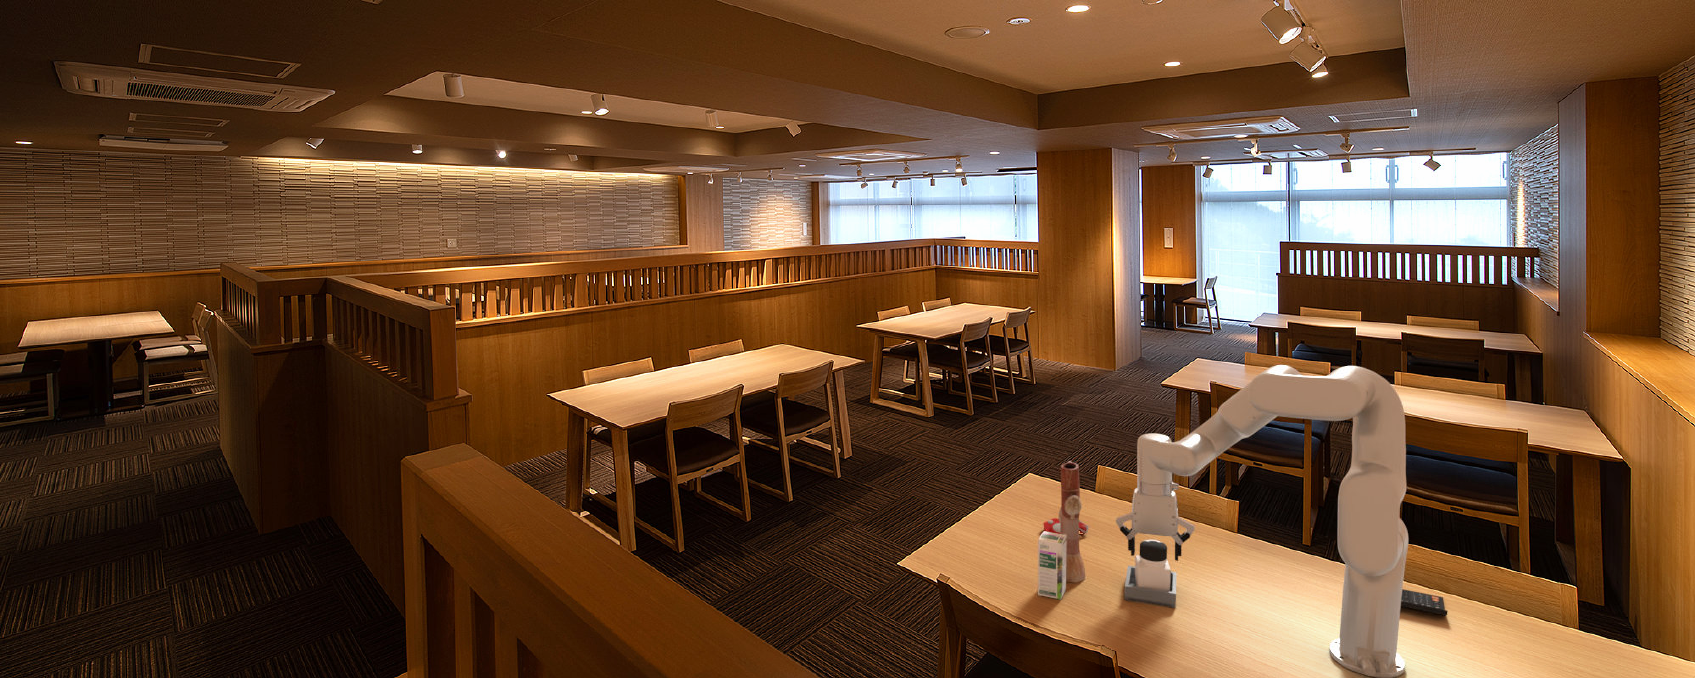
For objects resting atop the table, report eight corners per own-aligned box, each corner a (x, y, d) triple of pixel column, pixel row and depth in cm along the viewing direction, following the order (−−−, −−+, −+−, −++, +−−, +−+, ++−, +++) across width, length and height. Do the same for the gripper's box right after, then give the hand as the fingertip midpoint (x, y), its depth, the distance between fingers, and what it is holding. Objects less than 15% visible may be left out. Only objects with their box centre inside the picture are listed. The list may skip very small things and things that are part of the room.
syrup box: (1037, 595, 184) (1037, 539, 182) (1043, 584, 189) (1043, 529, 187) (1061, 600, 182) (1061, 543, 179) (1066, 589, 187) (1067, 533, 184)
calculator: (1442, 600, 175) (1443, 588, 175) (1446, 624, 166) (1447, 611, 166) (1392, 590, 181) (1393, 578, 180) (1393, 612, 171) (1394, 600, 171)
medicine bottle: (1170, 598, 179) (1172, 550, 177) (1138, 596, 181) (1139, 548, 179) (1165, 584, 186) (1167, 537, 184) (1134, 581, 187) (1135, 535, 185)
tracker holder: (1058, 541, 211) (1035, 521, 219) (1058, 553, 213) (1035, 533, 221) (1092, 524, 215) (1068, 504, 223) (1092, 535, 217) (1069, 516, 225)
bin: (1175, 608, 176) (1176, 593, 176) (1124, 599, 181) (1124, 586, 180) (1176, 585, 186) (1176, 572, 186) (1127, 578, 191) (1128, 565, 190)
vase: (1057, 566, 199) (1058, 455, 194) (1086, 570, 196) (1088, 458, 191) (1052, 585, 189) (1053, 469, 184) (1083, 589, 186) (1084, 472, 181)
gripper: (1195, 484, 179) (1194, 553, 181) (1116, 478, 186) (1117, 545, 188) (1195, 495, 172) (1194, 567, 175) (1114, 489, 179) (1114, 558, 182)
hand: (1154, 555), depth 181 cm, fingers open, 9 cm apart
